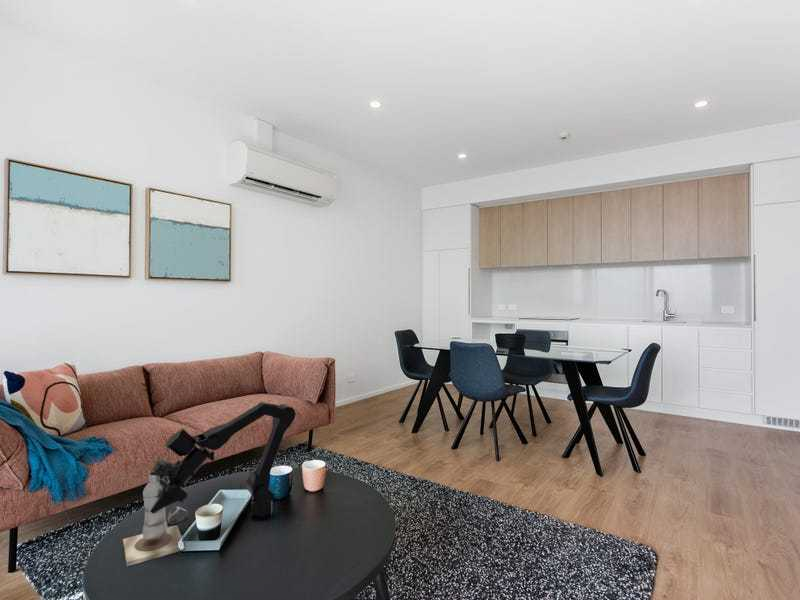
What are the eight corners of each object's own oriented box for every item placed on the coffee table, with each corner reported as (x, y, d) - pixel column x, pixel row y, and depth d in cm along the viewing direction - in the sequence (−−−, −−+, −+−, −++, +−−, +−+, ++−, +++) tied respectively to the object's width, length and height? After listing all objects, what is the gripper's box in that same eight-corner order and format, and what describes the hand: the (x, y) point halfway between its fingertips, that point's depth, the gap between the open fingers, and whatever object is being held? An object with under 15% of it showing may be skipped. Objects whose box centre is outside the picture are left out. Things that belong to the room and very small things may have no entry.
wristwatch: (166, 523, 144) (166, 508, 144) (184, 517, 148) (185, 502, 149) (169, 527, 141) (170, 511, 142) (189, 520, 146) (189, 505, 146)
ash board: (176, 528, 140) (176, 524, 140) (185, 549, 128) (185, 544, 128) (123, 542, 131) (123, 538, 131) (126, 566, 119) (126, 561, 119)
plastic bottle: (170, 537, 131) (171, 472, 131) (146, 547, 125) (148, 479, 126) (162, 530, 135) (163, 467, 135) (138, 539, 129) (139, 473, 130)
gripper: (166, 442, 140) (126, 484, 134) (175, 458, 125) (131, 506, 119) (191, 461, 145) (154, 502, 138) (203, 478, 130) (162, 526, 123)
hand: (150, 508), depth 129 cm, fingers closed on plastic bottle, 6 cm apart
